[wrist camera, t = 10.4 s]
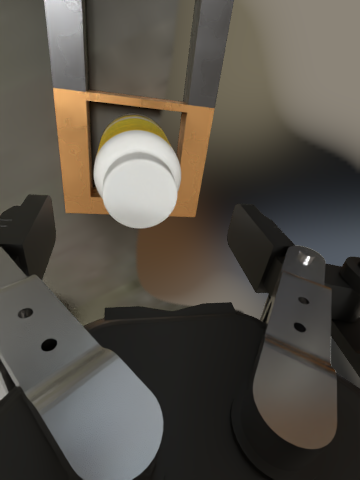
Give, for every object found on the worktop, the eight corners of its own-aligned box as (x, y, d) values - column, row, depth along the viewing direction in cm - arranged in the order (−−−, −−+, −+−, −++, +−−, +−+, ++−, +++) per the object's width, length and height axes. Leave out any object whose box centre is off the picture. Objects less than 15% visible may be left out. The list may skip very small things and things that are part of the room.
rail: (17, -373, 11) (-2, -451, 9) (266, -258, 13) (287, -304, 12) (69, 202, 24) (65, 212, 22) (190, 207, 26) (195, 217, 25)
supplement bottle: (87, 130, 21) (65, 171, 13) (150, 100, 21) (169, 123, 13) (121, 189, 24) (120, 253, 16) (176, 164, 24) (205, 216, 16)
